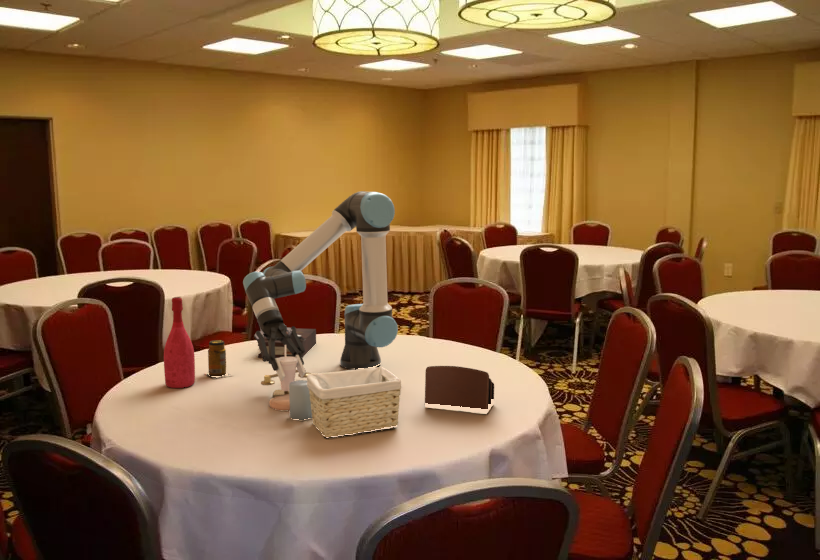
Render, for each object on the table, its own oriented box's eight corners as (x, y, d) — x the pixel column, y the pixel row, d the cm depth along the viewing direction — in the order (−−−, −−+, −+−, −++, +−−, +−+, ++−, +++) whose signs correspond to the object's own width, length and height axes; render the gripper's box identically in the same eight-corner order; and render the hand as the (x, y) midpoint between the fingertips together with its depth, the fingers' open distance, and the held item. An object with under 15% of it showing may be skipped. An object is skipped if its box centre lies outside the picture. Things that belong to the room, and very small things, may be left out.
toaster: (487, 416, 213) (488, 370, 211) (424, 408, 219) (424, 364, 217) (494, 405, 223) (495, 362, 221) (433, 399, 229) (433, 356, 227)
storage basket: (320, 442, 191) (319, 389, 189) (305, 422, 206) (304, 373, 204) (403, 430, 200) (403, 379, 198) (383, 412, 215) (383, 365, 213)
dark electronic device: (320, 326, 301) (301, 342, 272) (320, 343, 302) (302, 361, 273) (275, 324, 303) (252, 340, 274) (275, 342, 304) (253, 360, 275)
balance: (312, 392, 234) (312, 366, 233) (311, 396, 229) (311, 370, 228) (262, 392, 234) (261, 366, 232) (259, 397, 229) (259, 370, 227)
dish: (310, 398, 228) (310, 394, 228) (306, 410, 216) (306, 406, 216) (272, 398, 227) (272, 394, 227) (266, 410, 215) (266, 406, 215)
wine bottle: (201, 383, 243) (198, 296, 239) (181, 390, 234) (177, 300, 230) (179, 379, 247) (175, 293, 243) (158, 386, 238) (154, 298, 234)
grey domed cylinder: (314, 412, 215) (314, 380, 213) (312, 420, 208) (312, 387, 206) (291, 412, 214) (290, 380, 213) (288, 420, 207) (287, 387, 206)
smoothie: (278, 386, 224) (277, 342, 222) (298, 386, 224) (298, 342, 222) (276, 392, 217) (275, 347, 215) (297, 392, 218) (297, 347, 216)
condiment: (222, 370, 258) (221, 338, 257) (233, 376, 252) (232, 342, 250) (203, 374, 254) (202, 341, 252) (213, 379, 247) (212, 345, 246)
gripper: (291, 318, 236) (316, 378, 226) (236, 325, 224) (260, 388, 214) (298, 305, 231) (325, 365, 221) (243, 311, 219) (268, 375, 209)
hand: (293, 376), depth 217 cm, fingers closed on smoothie, 6 cm apart
